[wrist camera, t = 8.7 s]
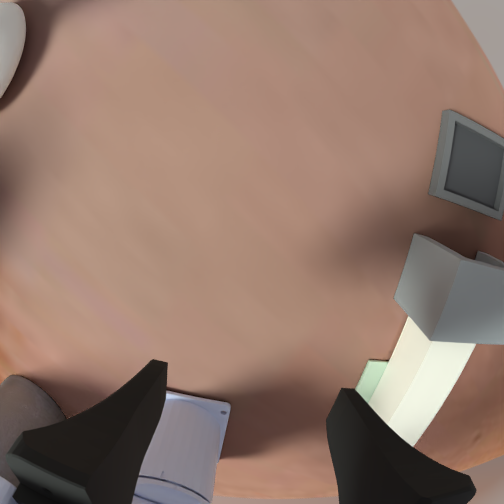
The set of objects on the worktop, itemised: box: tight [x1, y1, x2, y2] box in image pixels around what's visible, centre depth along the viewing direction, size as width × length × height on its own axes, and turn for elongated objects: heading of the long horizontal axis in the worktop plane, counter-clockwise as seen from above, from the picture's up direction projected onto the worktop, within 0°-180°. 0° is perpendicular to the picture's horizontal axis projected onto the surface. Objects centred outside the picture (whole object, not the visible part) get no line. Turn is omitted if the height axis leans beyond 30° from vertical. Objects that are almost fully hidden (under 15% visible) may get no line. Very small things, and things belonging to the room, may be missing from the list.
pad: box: [355, 360, 389, 403], centre depth 24 cm, size 8×8×1 cm
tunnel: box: [394, 233, 504, 345], centre depth 18 cm, size 5×8×6 cm, turn 79°
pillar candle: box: [0, 375, 66, 488], centre depth 19 cm, size 10×10×15 cm
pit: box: [428, 110, 504, 221], centre depth 18 cm, size 6×7×1 cm
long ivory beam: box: [368, 316, 476, 447], centre depth 21 cm, size 12×4×4 cm, turn 169°
